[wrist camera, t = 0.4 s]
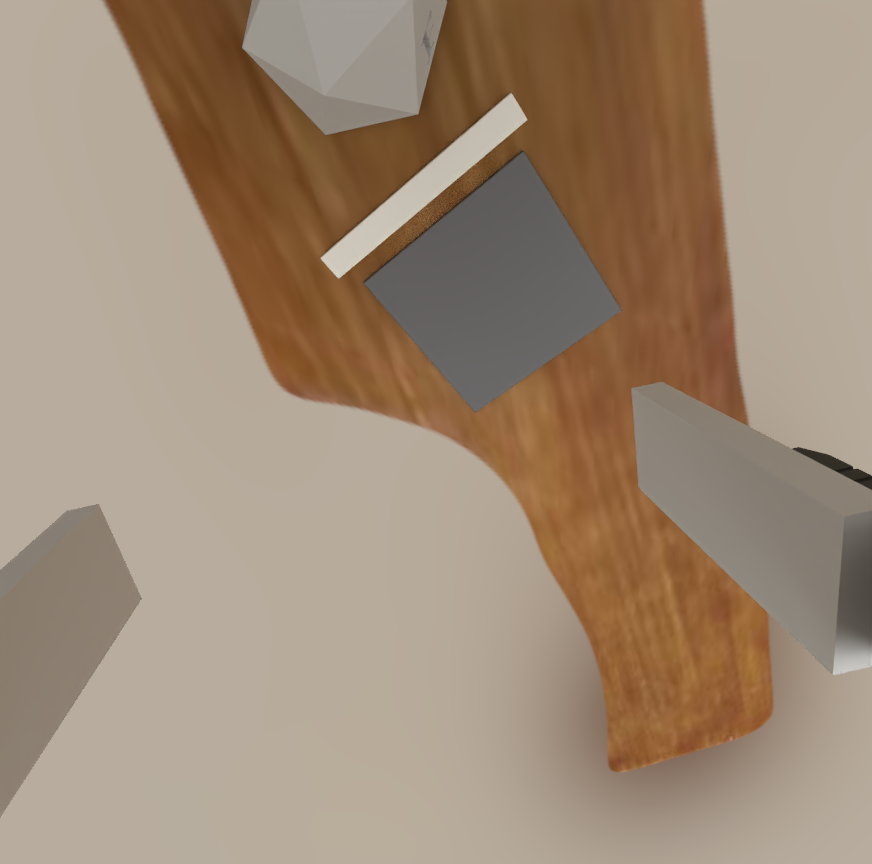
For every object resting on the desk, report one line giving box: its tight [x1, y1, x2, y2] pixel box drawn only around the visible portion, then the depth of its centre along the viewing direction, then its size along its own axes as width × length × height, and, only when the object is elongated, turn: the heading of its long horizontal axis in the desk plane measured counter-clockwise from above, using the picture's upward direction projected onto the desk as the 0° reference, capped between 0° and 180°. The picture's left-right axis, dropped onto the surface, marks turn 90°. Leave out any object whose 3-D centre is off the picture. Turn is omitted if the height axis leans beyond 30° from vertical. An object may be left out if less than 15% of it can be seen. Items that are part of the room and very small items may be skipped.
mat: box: [320, 93, 622, 412], centre depth 35 cm, size 14×15×1 cm
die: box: [242, 0, 447, 135], centre depth 25 cm, size 8×9×10 cm
